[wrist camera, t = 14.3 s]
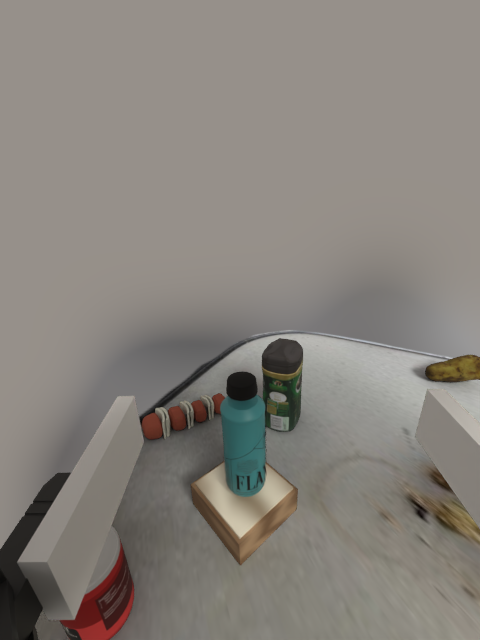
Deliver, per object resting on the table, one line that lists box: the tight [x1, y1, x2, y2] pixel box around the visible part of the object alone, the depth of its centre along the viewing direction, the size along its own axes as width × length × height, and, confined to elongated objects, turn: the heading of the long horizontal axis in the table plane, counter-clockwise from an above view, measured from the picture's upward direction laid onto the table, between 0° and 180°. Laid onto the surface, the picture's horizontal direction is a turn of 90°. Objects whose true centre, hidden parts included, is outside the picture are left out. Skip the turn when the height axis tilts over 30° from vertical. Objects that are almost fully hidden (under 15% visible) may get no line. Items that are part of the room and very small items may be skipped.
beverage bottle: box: [220, 372, 267, 497], centre depth 43 cm, size 6×7×20 cm
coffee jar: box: [262, 338, 303, 432], centre depth 65 cm, size 10×8×19 cm
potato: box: [425, 355, 480, 382], centre depth 77 cm, size 8×13×8 cm, turn 58°
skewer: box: [141, 393, 225, 440], centre depth 67 cm, size 5×5×30 cm
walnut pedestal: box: [191, 461, 298, 565], centre depth 48 cm, size 12×12×5 cm
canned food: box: [60, 525, 134, 640], centre depth 36 cm, size 8×8×11 cm
